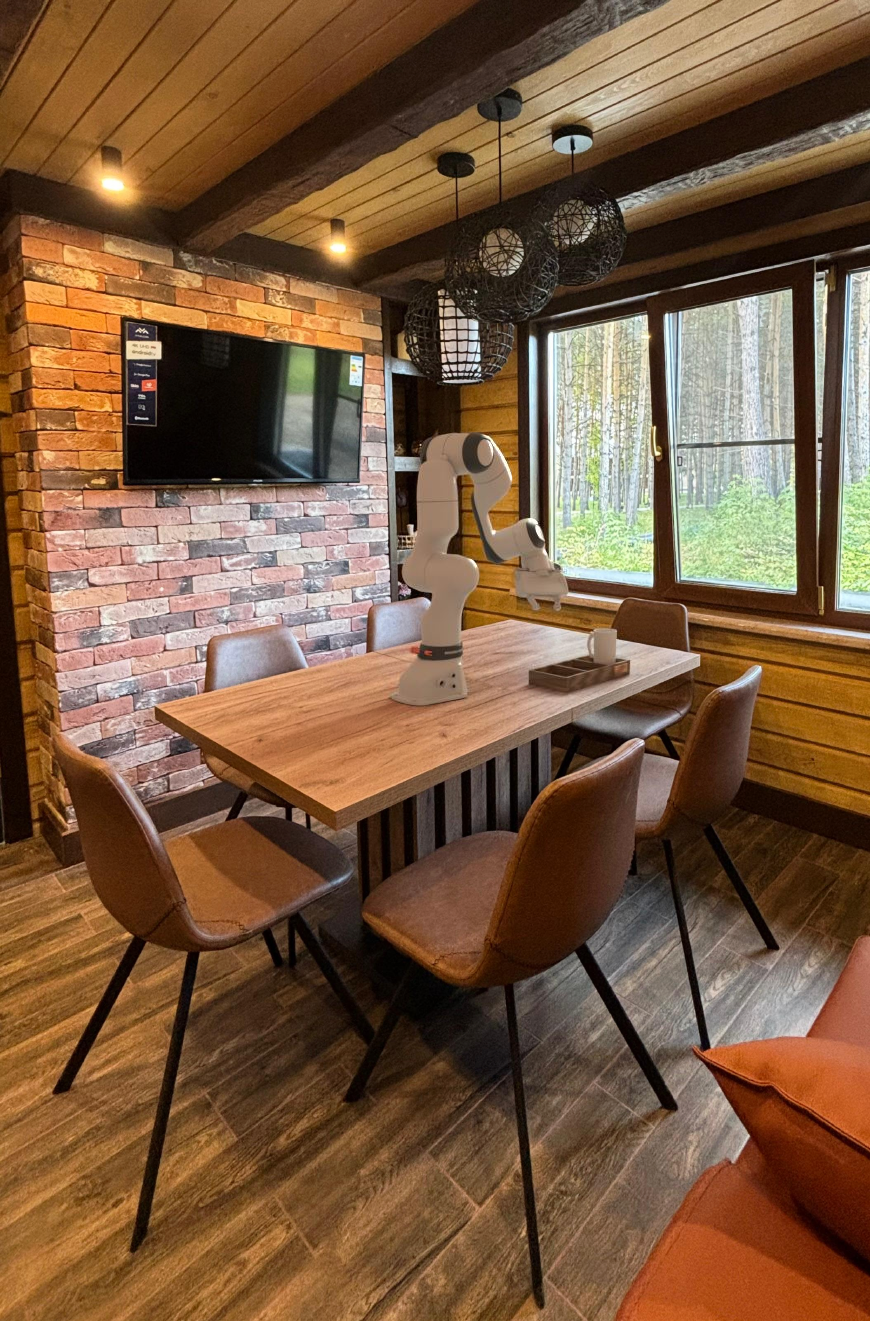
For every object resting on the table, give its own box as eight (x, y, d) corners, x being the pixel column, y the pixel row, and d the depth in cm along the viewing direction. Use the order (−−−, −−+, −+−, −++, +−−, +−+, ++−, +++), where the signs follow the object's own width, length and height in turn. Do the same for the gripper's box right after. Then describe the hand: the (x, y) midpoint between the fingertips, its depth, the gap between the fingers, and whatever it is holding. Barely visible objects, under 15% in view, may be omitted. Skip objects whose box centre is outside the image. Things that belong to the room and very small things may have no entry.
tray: (568, 693, 206) (568, 678, 206) (528, 684, 217) (528, 670, 216) (631, 673, 226) (631, 660, 225) (592, 666, 237) (592, 653, 236)
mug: (620, 669, 226) (621, 630, 223) (606, 672, 222) (607, 633, 219) (594, 664, 234) (595, 626, 231) (580, 667, 230) (580, 629, 227)
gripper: (519, 563, 228) (530, 605, 225) (565, 566, 240) (576, 606, 237) (506, 571, 233) (516, 613, 230) (552, 573, 245) (562, 613, 242)
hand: (547, 609), depth 234 cm, fingers open, 8 cm apart
